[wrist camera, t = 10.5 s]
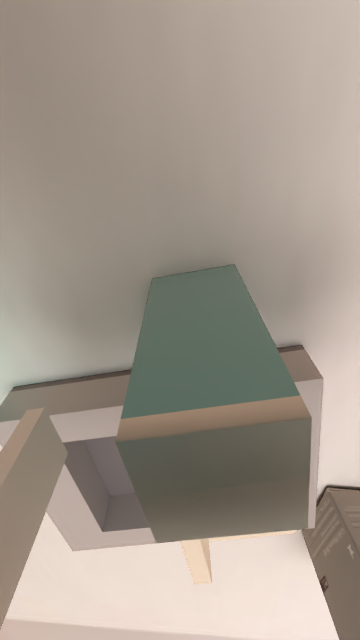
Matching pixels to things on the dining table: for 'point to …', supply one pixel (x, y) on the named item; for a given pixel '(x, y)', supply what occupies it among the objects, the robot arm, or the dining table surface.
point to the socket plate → (104, 458)
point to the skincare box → (338, 557)
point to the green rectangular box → (213, 415)
